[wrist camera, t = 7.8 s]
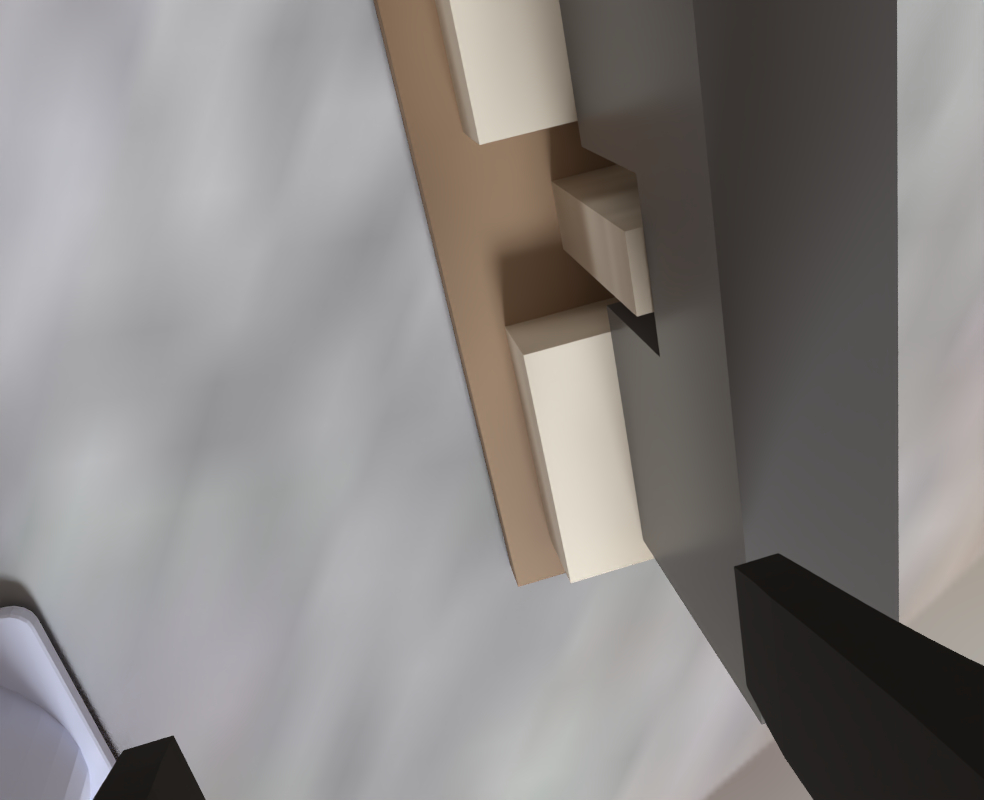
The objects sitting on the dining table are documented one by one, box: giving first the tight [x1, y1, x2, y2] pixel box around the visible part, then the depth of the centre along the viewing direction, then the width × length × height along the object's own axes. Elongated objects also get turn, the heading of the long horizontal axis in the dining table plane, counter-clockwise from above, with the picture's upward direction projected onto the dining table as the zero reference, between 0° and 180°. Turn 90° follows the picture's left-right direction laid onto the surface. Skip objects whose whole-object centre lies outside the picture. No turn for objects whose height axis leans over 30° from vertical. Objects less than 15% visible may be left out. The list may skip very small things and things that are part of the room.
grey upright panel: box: [559, 0, 899, 724], centre depth 14 cm, size 14×3×6 cm, turn 12°
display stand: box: [374, 0, 654, 587], centre depth 16 cm, size 8×17×5 cm, turn 12°
